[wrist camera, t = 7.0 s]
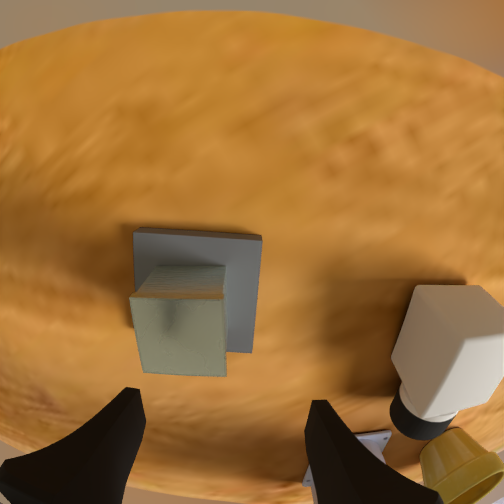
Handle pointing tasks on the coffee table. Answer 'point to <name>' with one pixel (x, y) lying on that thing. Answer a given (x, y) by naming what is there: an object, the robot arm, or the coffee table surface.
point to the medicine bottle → (446, 357)
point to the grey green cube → (182, 321)
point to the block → (208, 254)
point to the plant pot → (460, 468)
